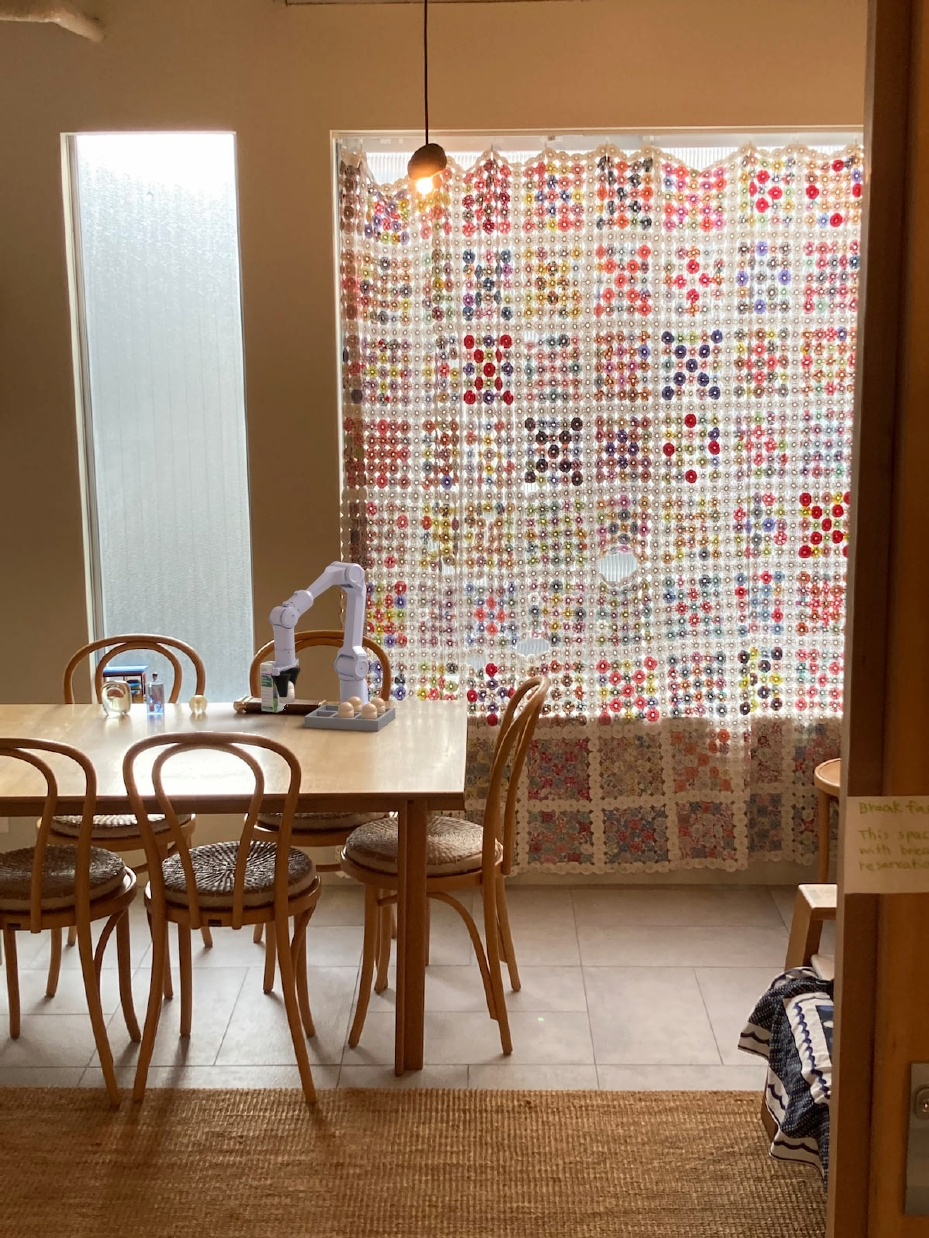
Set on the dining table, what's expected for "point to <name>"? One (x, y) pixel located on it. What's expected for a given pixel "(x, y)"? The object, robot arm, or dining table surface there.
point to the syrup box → (269, 689)
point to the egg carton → (352, 715)
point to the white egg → (288, 695)
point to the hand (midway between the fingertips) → (286, 695)
